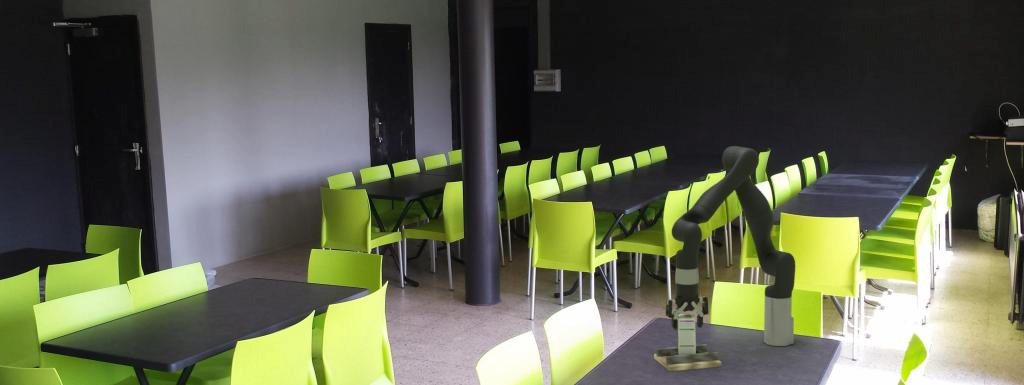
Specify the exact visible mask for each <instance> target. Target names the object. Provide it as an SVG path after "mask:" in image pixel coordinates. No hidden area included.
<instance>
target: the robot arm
mask: <svg viewBox="0 0 1024 385" xmlns="http://www.w3.org/2000/svg"><path fill="white" fill-rule="evenodd" d="M721 157H722V158H721V161H722V166H723V169H724V172H725V173H726V175H725V176H724V177H723V178H721V179H720V180H719V181H717V182H716V183H714V184H713V185H712V186H710V187H709V188H708V189H706V190H704V192H703V193H702V194H701V195H700V196H699V198H698V199H697V200H696V202H695V203H693V205H692V207H691V208H690V209H688V210H687V211H685V213H684V214H682V215H681V216H680V217H678V219H677V220H675V221H674V224H672V228H671V236H672V237H673V239H674V240H676V241H677V242H681V243H683V246H682V249H679V250H677V251H676V254H675V275H674V276H675V278H674V279H675V298H673V299H670V298H667V299H666V301H665V302H666V303H665V317H667V318H669V319H671V328H672V329H673V330H674V331H678V316H679V314H683V312H684V313H685V312H695V313H696V314H697V315H696V326H697V328H699V329H700V328H703V325H704V316H706V315H709V313H710V311H709V300H708V299H709V298H708V297H707V296H705V295H701V296H699V293H700V292H699V283H700V282H699V280H700V277H699V268H698V267H699V266H698V265H699V264H698V263H699V262H698V259H699V258H698V256H699V252H700V248H701V245H702V239H703V232H702V229H701V226H700V225H701V224H706V223H708V222H709V221H710V220H711V219H712V217H713V216H714V214H715V213H717V211H718V210H719V208H720V207H721V205H723V203H724V202H725V201H726V200H727V199H728V198H729V197H730V196H731V194H733V193H734V192H735V194H736V197H737V200H738V202H739V205H740V208H741V210H742V213H743V216H744V219H745V222H746V224H747V227H748V228H749V232H750V235H751V238H752V240H753V244H754V247H755V251H756V255H757V259H758V264H759V267H760V269H761V271H762V272H763V273H764V274H766V275H768V276H771V277H774V283H773V284H771V285H767V286H765V288H764V320H763V322H764V323H763V324H764V325H763V326H764V328H763V331H764V332H763V342H764V344H766V345H768V346H772V347H787V346H790V345H793V344H794V339H795V338H794V334H795V333H794V330H795V326H794V325H795V318H794V317H793V316H792V314H793V313H792V308H793V307H792V306H793V304H792V303H793V300H792V299H793V290H794V289H795V278H796V259H795V257H794V255H793V254H792V253H790V252H788V251H787V252H786V251H783V250H778V249H776V247H775V246H774V243H773V240H772V236H771V234H772V230H773V227H774V222H775V221H774V220H775V218H774V214H773V211H772V208H771V205H770V202H769V200H768V199H767V197H766V196H765V194H764V193H763V192H762V191H761V190H760V188H759V187H758V186H757V185H756V184H755V183H754V181H753V180H752V178H751V175H753V173H755V171H756V170H757V168H758V167H759V163H760V158H759V157H760V156H759V154H758V152H757V150H755V149H753V148H749V147H744V146H737V145H734V146H728V147H726V149H724V151H723V153H722V156H721ZM699 303H700V304H701V309H702V310H701V309H700V308H699V306H698V304H699ZM675 305H676V306H675ZM673 306H675V307H674V309H673Z"/></svg>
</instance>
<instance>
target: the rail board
mask: <svg viewBox="0 0 1024 385" xmlns="http://www.w3.org/2000/svg"><path fill="white" fill-rule="evenodd" d="M719 353H720V352H718V351H713V352H708V344H707V343H705V344H704V343H703V344H696V354H688V355H678V346H673V347H670V346H669V347H661V348H656V352H655V353H653V358H654V360H656V362H658V363H659V364H660V365H661V366H663V367H664V368H665V369H666V370H667V371H669V372H675V371H677V372H678V371H679V372H680V371H687V370H696V369H697V370H698V369H707V368H718V367H719V368H721V367H722V361H720V360H719Z"/></svg>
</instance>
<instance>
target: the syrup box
mask: <svg viewBox="0 0 1024 385" xmlns="http://www.w3.org/2000/svg"><path fill="white" fill-rule="evenodd" d="M677 322H678V329H677V347H678V355H688V354H696V345H697V342H696V341H697V340H696V339H697V338H696V336H697V335H696V334H697V333H696V316H695V314H694V313H693V314H692V313H681V314H679V316H678V317H677Z"/></svg>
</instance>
